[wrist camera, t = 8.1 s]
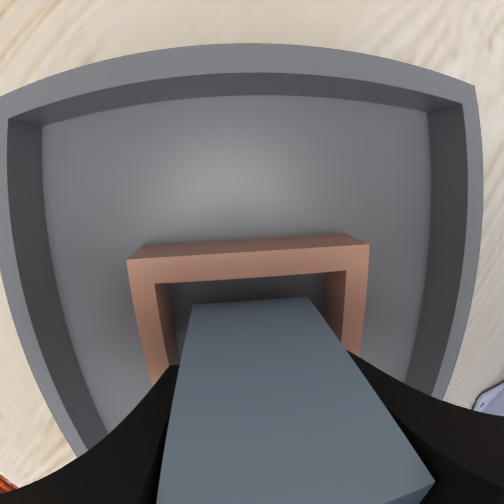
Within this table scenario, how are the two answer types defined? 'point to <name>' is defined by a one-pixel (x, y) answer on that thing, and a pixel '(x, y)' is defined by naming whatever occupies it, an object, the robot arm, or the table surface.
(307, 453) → the block
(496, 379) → the table surface
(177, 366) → the robot arm
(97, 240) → the gray tray
